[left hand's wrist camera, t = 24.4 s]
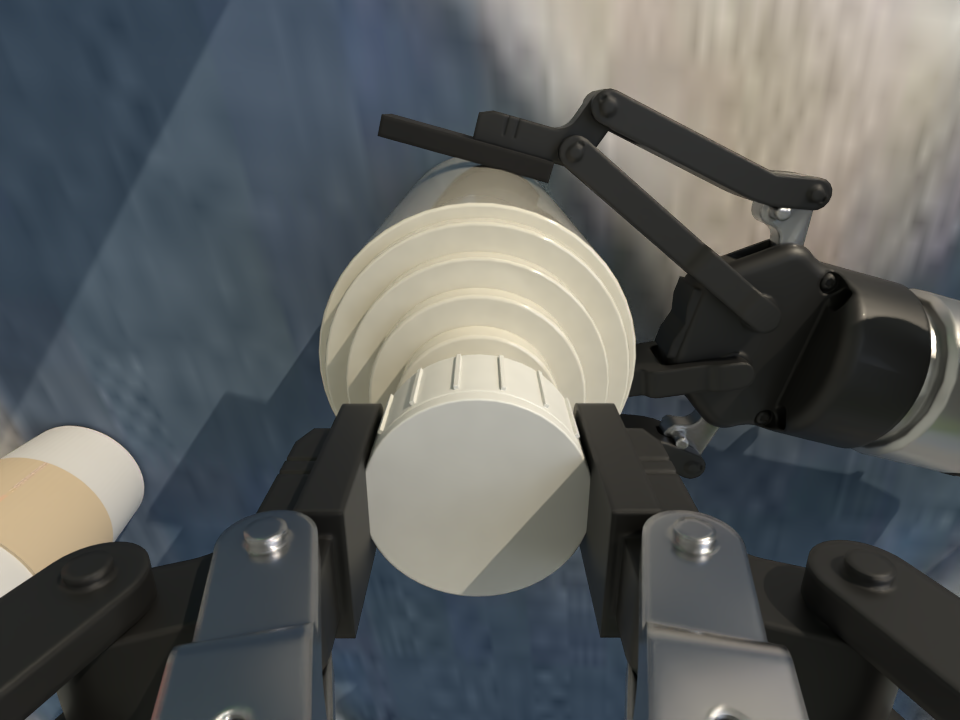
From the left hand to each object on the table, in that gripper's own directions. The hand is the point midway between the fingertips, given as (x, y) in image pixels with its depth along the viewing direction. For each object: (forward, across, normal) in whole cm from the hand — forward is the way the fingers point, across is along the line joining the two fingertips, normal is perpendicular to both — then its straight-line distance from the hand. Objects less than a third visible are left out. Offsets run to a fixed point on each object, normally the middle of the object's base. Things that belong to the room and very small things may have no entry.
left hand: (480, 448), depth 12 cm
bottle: (+21, 0, 0) cm, 21 cm away
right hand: (+15, -5, +1) cm, 16 cm away
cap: (-2, 0, 0) cm, 2 cm away
